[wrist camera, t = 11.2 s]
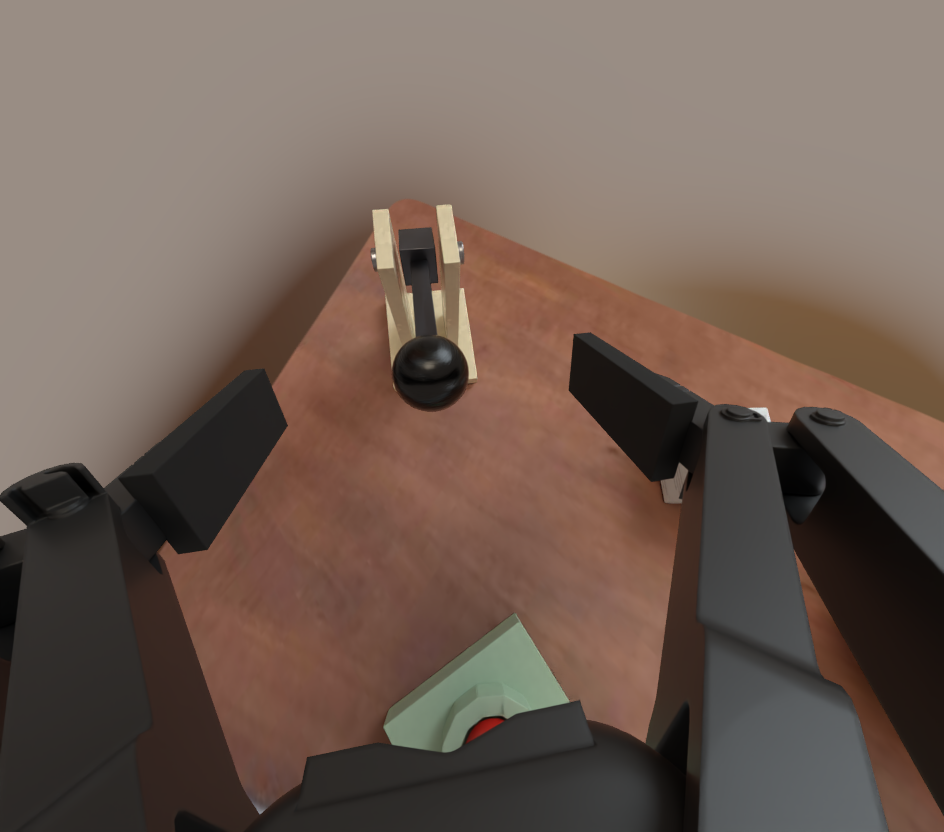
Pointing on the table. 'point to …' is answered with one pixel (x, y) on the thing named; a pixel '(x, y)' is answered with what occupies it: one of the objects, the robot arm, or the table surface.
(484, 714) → the button block
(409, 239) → the lever
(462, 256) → the cream lever bracket
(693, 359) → the table surface
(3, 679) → the robot arm
